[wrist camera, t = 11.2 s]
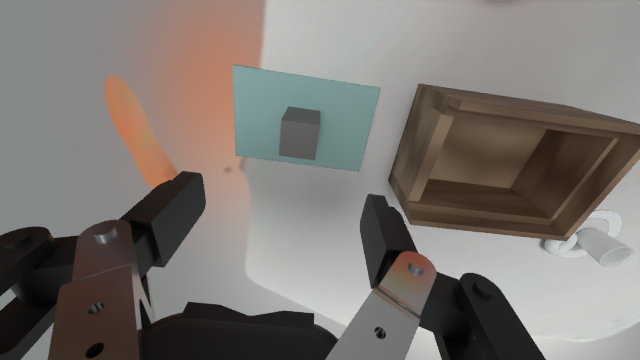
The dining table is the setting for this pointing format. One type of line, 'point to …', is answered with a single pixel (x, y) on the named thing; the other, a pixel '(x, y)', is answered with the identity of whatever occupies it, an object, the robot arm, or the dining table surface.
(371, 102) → the cover plate
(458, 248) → the dining table surface
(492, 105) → the box
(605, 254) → the teacup and saucer
